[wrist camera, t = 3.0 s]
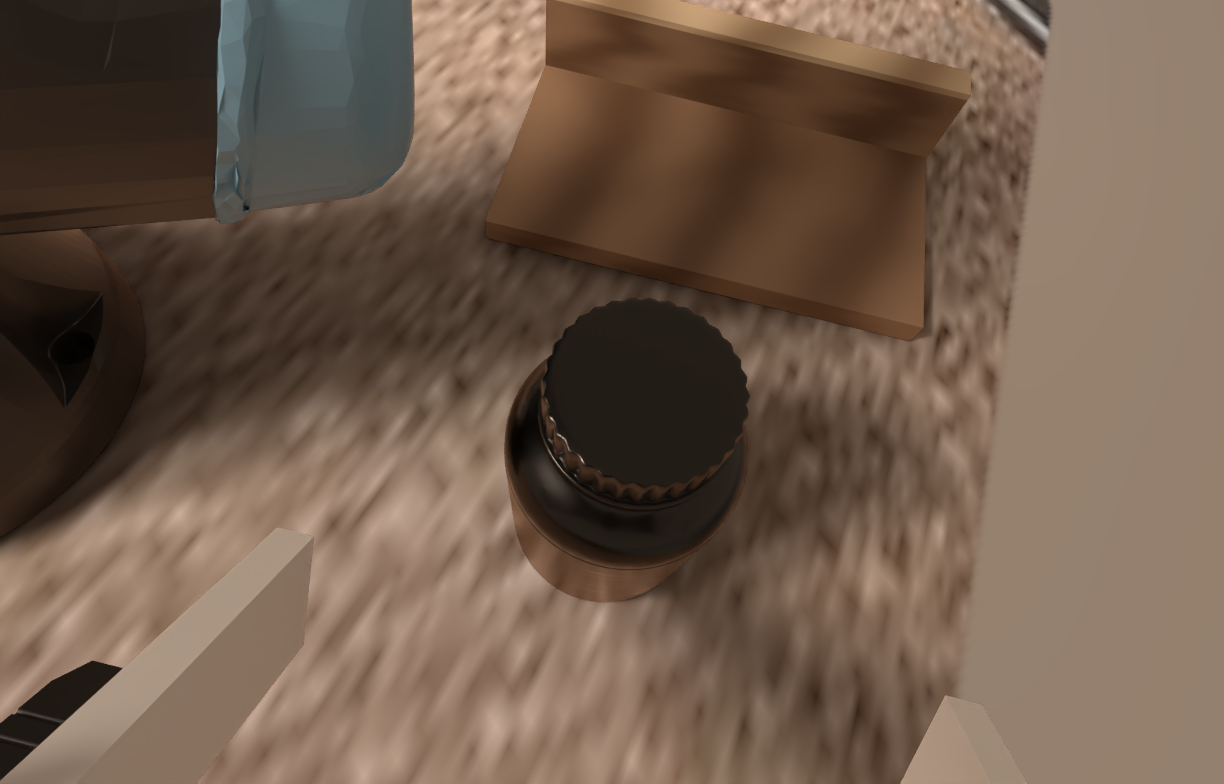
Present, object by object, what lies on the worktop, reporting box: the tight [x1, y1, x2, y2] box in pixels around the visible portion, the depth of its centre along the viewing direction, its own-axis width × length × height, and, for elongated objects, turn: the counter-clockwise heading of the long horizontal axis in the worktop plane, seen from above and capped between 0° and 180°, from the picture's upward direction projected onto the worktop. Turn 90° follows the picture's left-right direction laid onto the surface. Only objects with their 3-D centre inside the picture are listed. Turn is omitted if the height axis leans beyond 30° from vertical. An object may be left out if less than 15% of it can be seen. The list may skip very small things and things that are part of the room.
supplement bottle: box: [504, 298, 750, 602], centre depth 21 cm, size 7×7×12 cm
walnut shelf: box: [485, 0, 971, 341], centre depth 31 cm, size 20×12×5 cm, turn 77°
